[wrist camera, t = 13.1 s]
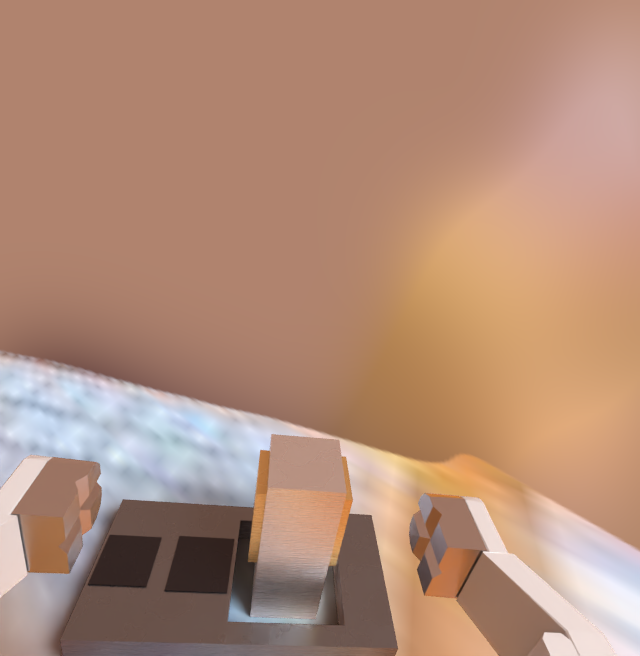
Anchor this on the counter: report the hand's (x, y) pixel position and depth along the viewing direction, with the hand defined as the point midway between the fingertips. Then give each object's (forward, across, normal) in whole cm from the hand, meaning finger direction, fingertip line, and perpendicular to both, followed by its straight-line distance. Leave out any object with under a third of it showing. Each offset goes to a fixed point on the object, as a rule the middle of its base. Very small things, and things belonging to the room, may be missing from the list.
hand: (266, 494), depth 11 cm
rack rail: (+12, -1, +22) cm, 25 cm away
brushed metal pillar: (+12, -4, +22) cm, 25 cm away
